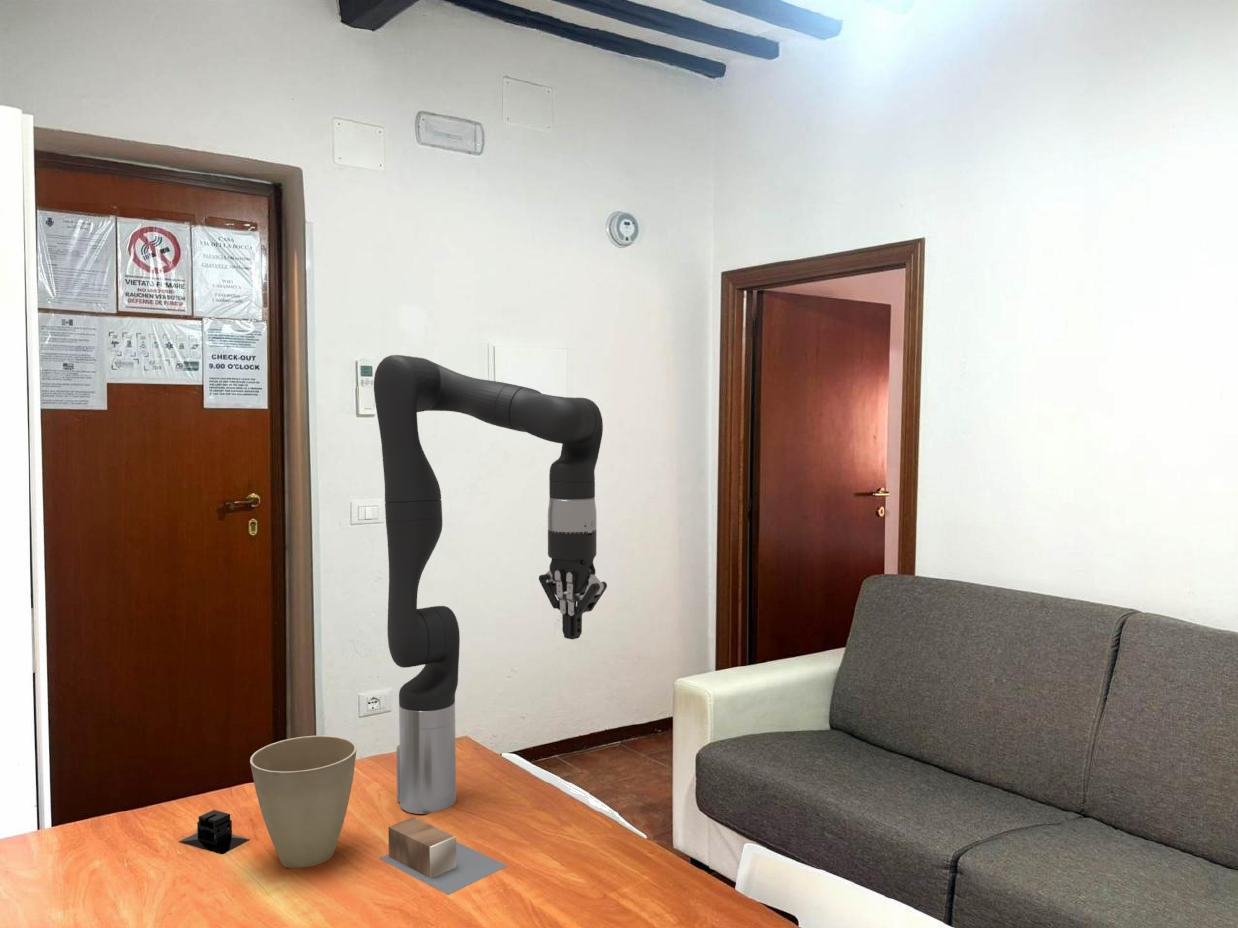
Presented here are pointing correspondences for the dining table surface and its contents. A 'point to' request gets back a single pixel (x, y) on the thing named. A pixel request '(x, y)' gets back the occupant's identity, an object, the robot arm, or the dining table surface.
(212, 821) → the slotted block on plate
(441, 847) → the walnut block
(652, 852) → the dining table surface
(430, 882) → the rubber mat
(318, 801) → the plant pot
